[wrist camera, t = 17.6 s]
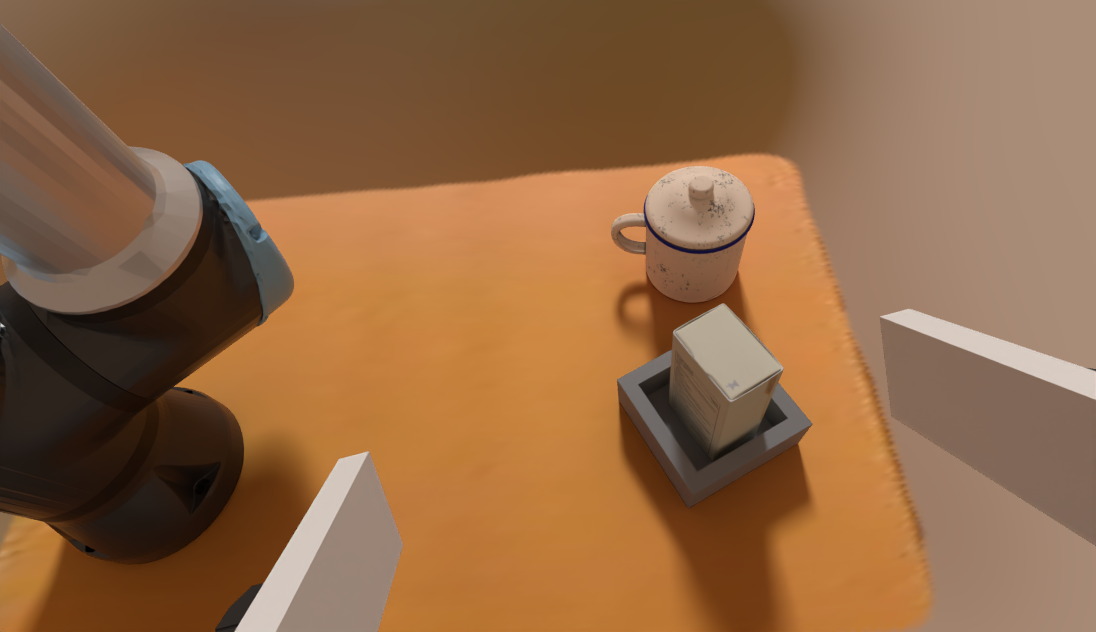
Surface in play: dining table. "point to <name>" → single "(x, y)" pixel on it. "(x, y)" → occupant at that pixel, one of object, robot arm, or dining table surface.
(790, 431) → the tray
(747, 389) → the skincare box
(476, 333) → the dining table surface
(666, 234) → the teacup with lid
